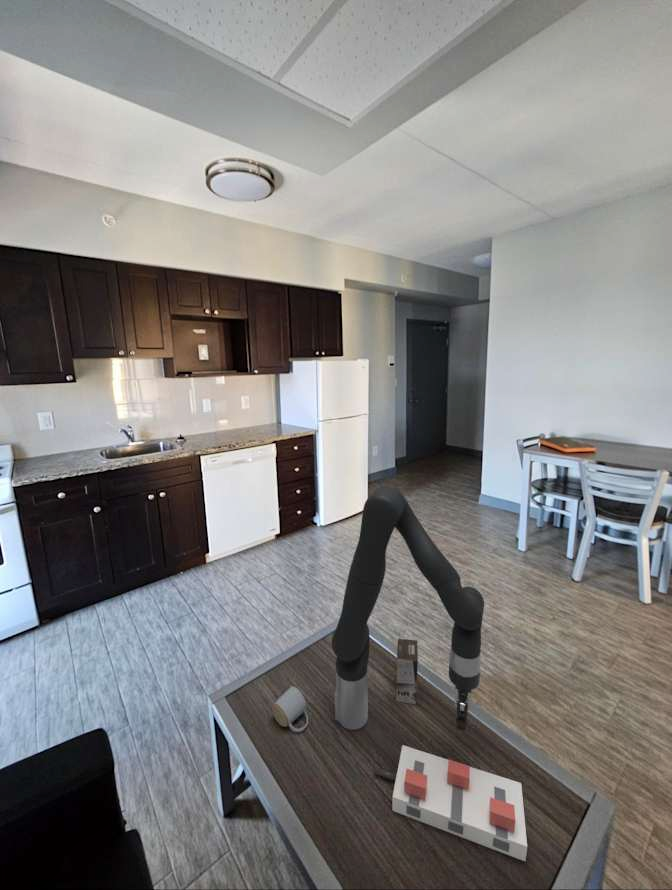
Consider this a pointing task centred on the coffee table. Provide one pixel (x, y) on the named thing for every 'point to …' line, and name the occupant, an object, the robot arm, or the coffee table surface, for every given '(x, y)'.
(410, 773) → the toggle
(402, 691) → the coffee box
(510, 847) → the slider control panel
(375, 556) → the robot arm
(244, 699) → the coffee table surface
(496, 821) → the toggle
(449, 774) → the toggle
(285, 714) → the ceramic mug
